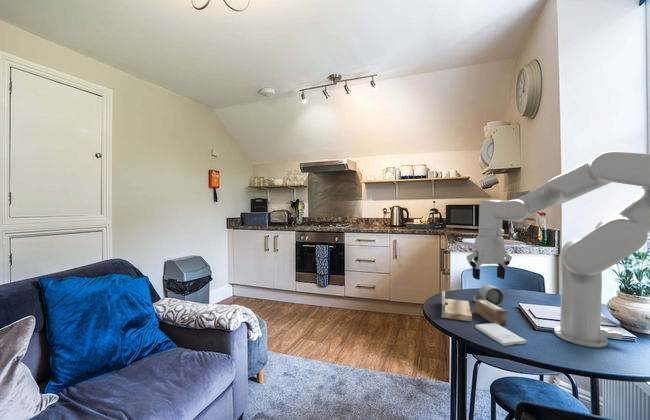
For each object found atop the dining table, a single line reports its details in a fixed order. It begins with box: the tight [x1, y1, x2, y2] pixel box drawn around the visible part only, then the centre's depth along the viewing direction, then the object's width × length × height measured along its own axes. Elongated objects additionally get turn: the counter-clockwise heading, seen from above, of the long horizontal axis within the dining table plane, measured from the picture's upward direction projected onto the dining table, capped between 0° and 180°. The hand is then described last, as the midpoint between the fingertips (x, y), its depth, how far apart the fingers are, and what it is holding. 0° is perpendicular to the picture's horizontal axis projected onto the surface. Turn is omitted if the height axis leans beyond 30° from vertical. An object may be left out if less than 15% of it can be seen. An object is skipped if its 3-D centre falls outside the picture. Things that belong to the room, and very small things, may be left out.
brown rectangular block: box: [474, 299, 507, 325], centre depth 105 cm, size 4×11×5 cm, turn 6°
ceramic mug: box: [473, 284, 505, 307], centre depth 120 cm, size 11×8×8 cm
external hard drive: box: [475, 322, 528, 347], centre depth 92 cm, size 2×8×12 cm
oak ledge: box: [441, 290, 473, 322], centre depth 111 cm, size 10×16×5 cm, turn 157°
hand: (488, 278), depth 105 cm, fingers open, 9 cm apart
